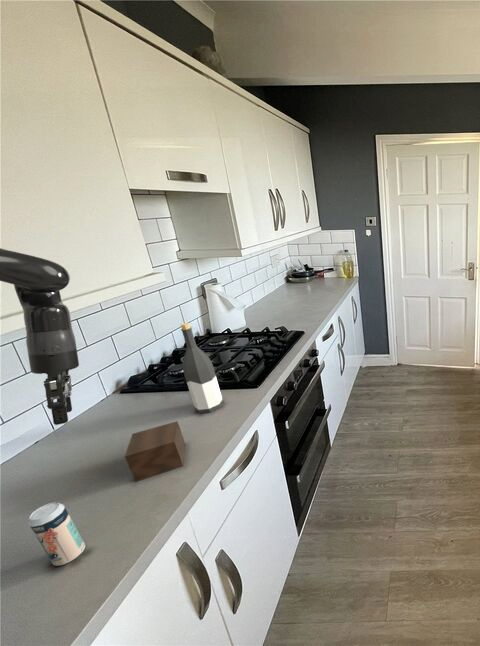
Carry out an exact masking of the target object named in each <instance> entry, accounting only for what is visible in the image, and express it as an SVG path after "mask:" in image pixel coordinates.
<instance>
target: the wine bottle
mask: <svg viewBox="0 0 480 646" xmlns="http://www.w3.org/2000/svg"><path fill="white" fill-rule="evenodd" d="M180 327H181V329H180V331H181V332H182V337H183V339H184V342H185V345H186V350H185V352H184V356H183V359H182V372H183V375H184V378H185V381H186V384H187V385H186V386H187V387H188V391H189V393H190V394H189V395H190V397H191V400H192V403H193V406H194V409H195V411H196V412H197V413H199V414H200V415H202V414H210V413H213V412H214V411H215V412H216V410H219V409H220V408H221V407H222V406H223V404H224V400H223V399H224V398H223V395H222V393H221V388H220V386H219V381H218V379H217V374H216V372H215V367H214V364H213V362H212V361H211V358H210V357H209V356H208V355H207V354H206V353H205V351H203V350H202V349H201V348H199V347H198V346H197V343H196V339H195V337H194V333H193V328H192V327H191V325H190V323H188V322H184V323H181V324H180Z"/></svg>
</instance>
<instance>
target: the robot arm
mask: <svg viewBox="0 0 480 646" xmlns="http://www.w3.org/2000/svg"><path fill="white" fill-rule="evenodd" d="M70 281H71V277H70V273H69V272H68V270H67V269H66V268H65V267H64V266H62V265H61V264H59V263H57V262H55V261H52V260H49V259H46V258H43V257H38V256H35V255H31V254H27V253H22V252H18V251H13V250H8V249H6V248H5V249H4V248H2V247H0V282H3V283H7V284H10V285H13V288H14V290H15V293H16V296H17V299H18V302H19V304H20V306H21V308H22V312H23V320H24V327H25V326H26V327H25V332H26V333H25V335H26V336H25V345H26V351H27V356H28V357H27V358H28V363H29V368H30V372H31V373H32V374H34V375H42V374H45V375H47V376H46V378H45V380H43V387H44V389H45V398H46V403H47V405H46V408H47V409H48V410H51V416H52V422H53V425H55V426H58V425H63V424H67V423H68V422H69V416H68V415H69V414H68V413H71V412H72V411H73V406H72V400H71V399H72V398H71V395H72V390H73V387H72V385H73V384H72V377H71V375H70V374H69V373H70V371H71V370H75V369H76V368H78V367H79V366H80V361H79V355H78V349H77V341H76V337H75V333H74V331H73V325H72V318H71V313H70V309H69V307H68V306H67V305H66V304H64V302H63V300H62V296H61V292H60V291H62V290H64V289H65V288H67V286H68V285H69V284H70ZM55 400H56V401H55Z"/></svg>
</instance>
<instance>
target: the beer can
mask: <svg viewBox="0 0 480 646" xmlns="http://www.w3.org/2000/svg"><path fill="white" fill-rule="evenodd" d="M27 524H28V526H29V527H30V529H31V530H32V532H33V534H34V535H35V538H36V539H37V540H38V542H39V543H40V545H41V547H42V548H43V550H44V552H45V553H46V555H47V557H48V558H49V560H50V562H51V563H52V565H53V566H56V567H57V566H62V565H66V564H68V563H70V562H72V561H74V560H75V559H76V558H78V557H79V556H80V555H82V553H83V552H84V550H85V548H86V543H85V541H84V539H83V537H82V536H81V535H80V532H79V531H78V529H77V527H76V525H75V522H74V521H73V520H72V518H71V516H70V514H69V512H68V510H67V508H66V506H65V505H64V504H62V503H59V502H57V501H56V502H48V503H47V504H44V505H42V506H40V507H38V508H37V509H35V510H34V511H33V512H32V513H31V514H30V515H29V519H28V523H27Z"/></svg>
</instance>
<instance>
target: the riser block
mask: <svg viewBox="0 0 480 646" xmlns="http://www.w3.org/2000/svg"><path fill="white" fill-rule="evenodd" d="M185 453H186V442H185V439H184V435H183V432H182V429H181V427H180V424H179V422H178V420H176V421H172V422H170V423H166V424H162V425H159V426H155V427H152V428H148V429H145V430H141V431H138V432H134V433H132V434H131V437H130V440H129V443H128V446H127V449H126V452H125V454H124V458H125V461H126V463H127V465H128V467H129V470H130V473H131V475H132V477H133V479H134V482H140V481H142V480H145V479H149V478H151V477H154V476H158V475H160V474H161V475H162V474H164V473H166V472H170V471H172V470H175V469H179V468H182V467H184V462H185Z"/></svg>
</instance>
